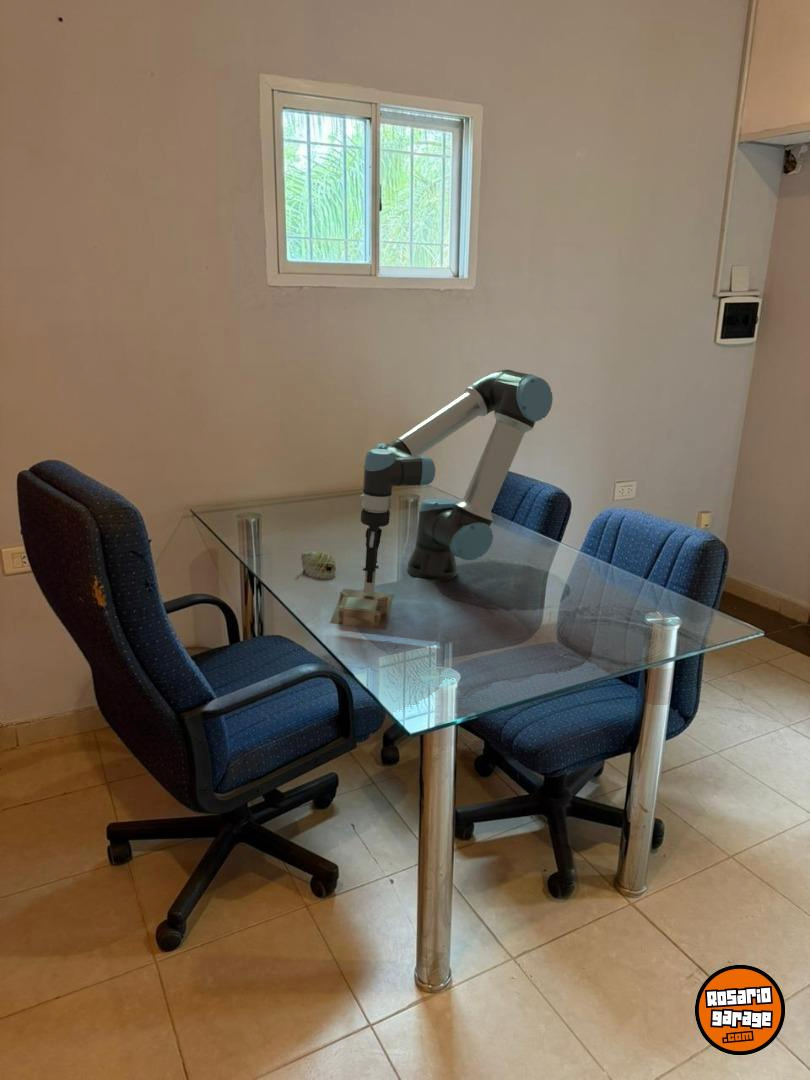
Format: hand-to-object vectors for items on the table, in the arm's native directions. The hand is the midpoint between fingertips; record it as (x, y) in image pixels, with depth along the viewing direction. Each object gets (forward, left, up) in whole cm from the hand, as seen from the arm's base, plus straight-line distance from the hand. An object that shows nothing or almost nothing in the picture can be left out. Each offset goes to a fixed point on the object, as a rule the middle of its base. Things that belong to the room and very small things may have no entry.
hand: (368, 591), depth 203 cm
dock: (0, +9, -2) cm, 9 cm away
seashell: (+16, -13, -3) cm, 21 cm away
